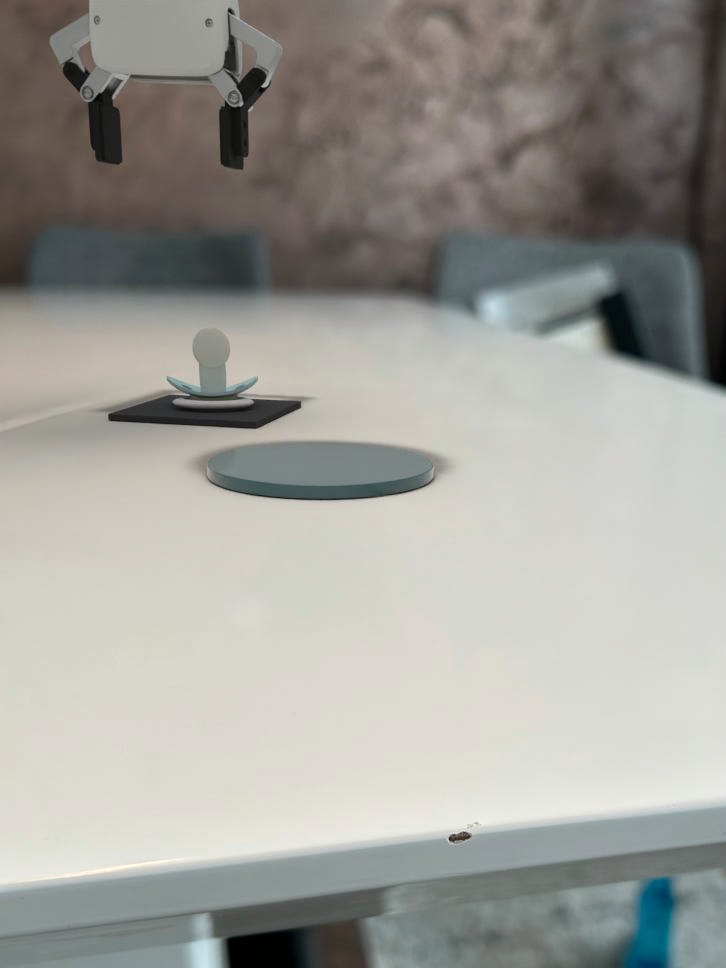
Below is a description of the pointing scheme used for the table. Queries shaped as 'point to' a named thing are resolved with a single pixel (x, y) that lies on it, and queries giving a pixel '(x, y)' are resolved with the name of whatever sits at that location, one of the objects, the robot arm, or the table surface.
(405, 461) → the plate
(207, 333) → the pacifier
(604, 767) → the table surface
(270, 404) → the mat
